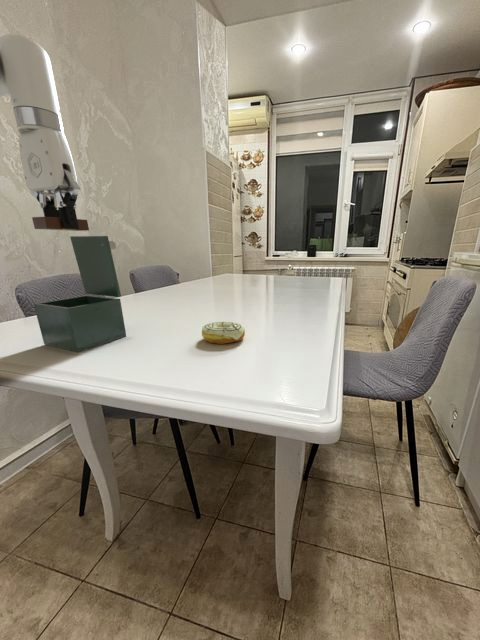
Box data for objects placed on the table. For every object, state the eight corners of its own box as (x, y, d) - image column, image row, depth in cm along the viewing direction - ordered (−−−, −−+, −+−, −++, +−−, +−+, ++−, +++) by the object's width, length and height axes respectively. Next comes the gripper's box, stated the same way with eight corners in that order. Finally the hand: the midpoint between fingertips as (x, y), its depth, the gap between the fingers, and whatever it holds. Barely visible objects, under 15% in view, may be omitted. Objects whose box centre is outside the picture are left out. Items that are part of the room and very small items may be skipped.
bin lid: (104, 236, 66) (123, 235, 70) (69, 236, 70) (89, 235, 75) (118, 297, 71) (135, 292, 76) (85, 293, 76) (103, 289, 80)
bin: (78, 352, 64) (68, 308, 61) (44, 344, 69) (33, 303, 65) (126, 336, 75) (120, 298, 72) (94, 330, 80) (87, 295, 77)
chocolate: (77, 230, 67) (74, 220, 66) (89, 230, 65) (87, 219, 64) (34, 229, 59) (31, 217, 58) (47, 228, 58) (44, 216, 57)
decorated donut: (246, 345, 69) (245, 329, 68) (200, 346, 68) (199, 331, 67) (244, 332, 79) (243, 318, 78) (204, 333, 78) (203, 319, 77)
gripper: (-7, 126, 56) (20, 229, 62) (47, 111, 49) (71, 227, 56) (36, 138, 62) (56, 230, 69) (88, 126, 56) (106, 229, 62)
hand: (63, 228), depth 62 cm, fingers closed on chocolate, 4 cm apart
